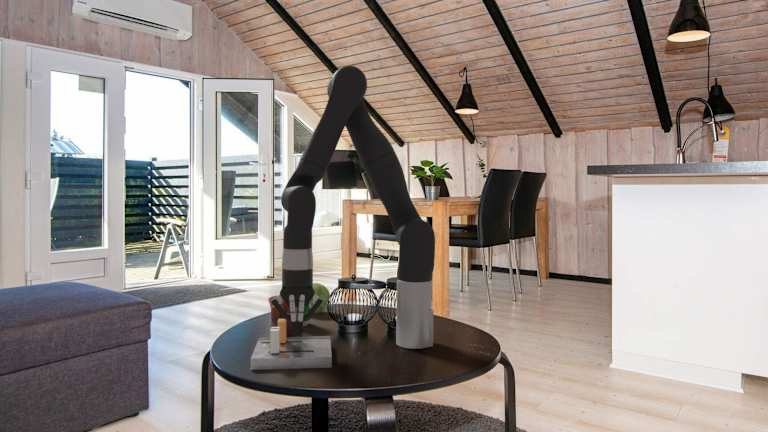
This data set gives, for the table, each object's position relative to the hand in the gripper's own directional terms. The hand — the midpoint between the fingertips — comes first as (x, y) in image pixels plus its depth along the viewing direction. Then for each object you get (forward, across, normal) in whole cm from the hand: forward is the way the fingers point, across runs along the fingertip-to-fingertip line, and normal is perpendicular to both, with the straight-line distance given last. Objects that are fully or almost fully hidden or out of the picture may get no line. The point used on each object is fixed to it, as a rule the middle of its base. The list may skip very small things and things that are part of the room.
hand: (297, 335), depth 129 cm
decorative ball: (+4, -4, -42) cm, 42 cm away
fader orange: (+1, +4, 0) cm, 4 cm away
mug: (+4, +5, -15) cm, 16 cm away
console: (+4, +1, +4) cm, 6 cm away
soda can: (+4, +1, -27) cm, 27 cm away
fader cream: (+1, +5, +8) cm, 9 cm away
